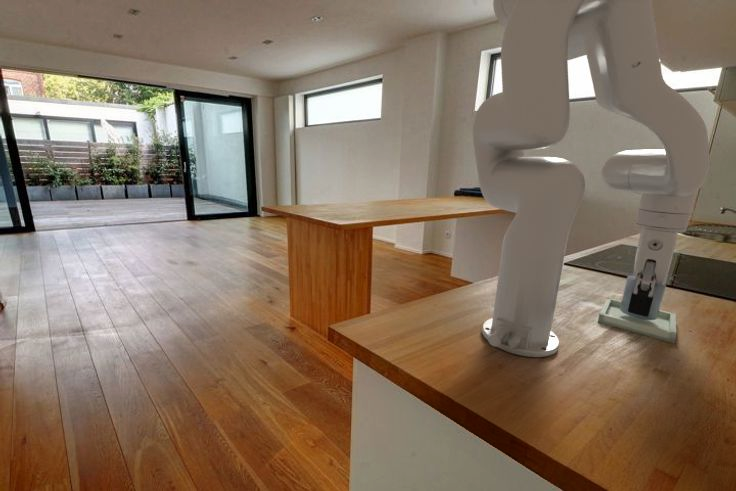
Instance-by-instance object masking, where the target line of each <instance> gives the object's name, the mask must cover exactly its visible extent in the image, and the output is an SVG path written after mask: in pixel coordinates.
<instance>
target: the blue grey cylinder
mask: <svg viewBox="0 0 736 491" xmlns="http://www.w3.org/2000/svg"><path fill="white" fill-rule="evenodd" d="M633 275H634V274H633ZM633 275H632V274H631V275H627V276H626V282H625V285H624V289H623V290H624V291H623V294H622V298H621V301H622V302H621V306H620V310H621V311H622V312H623V313H625V314H627V315H629V316H632V317H635V318H639V319H644V320H656V319H657V317H658V313H659V310H661V305H662V303H663V297H664V295H665V291H666V287H667V282H666V283H665V284H661V282H657V278H656V283H655V286H654V290H653V294H652V297H653V300H652V304H651V308H650V312H649V316H647V317H645V316H641V315H637V314H633V313H629V312H628V307H629V303H630V299H631V295H632V292H633V293H634V289H635V285H636V281H637V279H635V278H634V277H633ZM640 278H642V279H643V276H640ZM653 279H654V278H651V280H652V281H653ZM640 283H642V282H640ZM640 283H639V284H640ZM650 286H651V284H650Z"/></svg>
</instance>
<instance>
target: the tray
mask: <svg viewBox="0 0 736 491" xmlns="http://www.w3.org/2000/svg"><path fill="white" fill-rule="evenodd" d="M621 302H622V300H619V299H614V298H611V297H606V300H605V301H604V304H603V306H602V308H601V309H600V313H599V316H598V319H597V323H601V324H604V325H607V326H610V327H614V328H618V329H621V330H625V331H627V332H633V333H636V334H639V335H643V336H646V337H649V338H653V339H657V340H660V341H664V342H667V343H671V344H675V342H676V337H677V319H676V318H677V317H676V315H677V314H676V313H674V312H670V311H666V310H662V309H660V310H659V313H658V317H657V319H656V320H644V319H639V318H635V317H632V316H629V315H627V314H625V313H623V312H622V311H621V310H620V306H621Z"/></svg>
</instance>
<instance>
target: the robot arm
mask: <svg viewBox="0 0 736 491" xmlns="http://www.w3.org/2000/svg"><path fill="white" fill-rule="evenodd" d="M492 3H493V4H492V5H493V11H494V12H493V13H494V15H495V17H496V19H497V21H498V23H499V24H500V25H501V26H502V27H503V28H504V32H503V36H502V40H501V46H500V47H501V48H500V49H501V50H500V64H501V83H502V85H501V86H502V90H501V91H502V92H498V93H496V94H492V95H490V96H489V97H488V98H487V99H485V100H484V101H483V102H482V103H481V105H479V107H478V109H477V110H476V113H475V116H474V119H473V125H472V140H473V150H474V155H475V156H474V157H475V163H476V170H477V176H478V182H479V187H480V192H481V194H482V197H483V198H484V200H485V201H486V203H488V204H489V205H490V206H492V207H494V208H497V209H499V210H503V211H507V212H511V213H514V214H515V213H516V214H515V215H514V217H513V219H512V221H511V222H510V224H509V225H508V227H507V229H506V231H505V233H504V237H503V240H502V244H501V250H500V251H501V252H500V253H501V254H500V262H499V269H498V275H497V276H498V277H497V283H496V290H495V291H496V293H495V299H494V305H493V306H494V307H493V313H492V314H493V315H492V317H491V318H489V319H487V320H485V321H484V322H483V324H482V329H481V332H482V335H483V337H484V338H485V339H486V340H487V342H488V343H489V344H490V346H493V347H495V348H498V349H500V350H503V351H505V352H507V353H511V354H512V355H513V354H514V355H517V356H522V357H527V358H543V357H549V356H551V355H554V354H555V353H557V352H558V350H559V348H560V347H559V346H560V340H559V338H558V336H557V335H556V334H555V333H554V332H553V331H552V325H553V320H554V315H555V309H556V303H557V301H558V300H557V299H558V293H559V289H560V288H559V287H560V282H561V277H562V271H563V266H564V260H565V254H566V249H567V244H568V240H569V235H570V231H571V228H572V226H573V222H574V219H575V217H576V215H577V212H578V210H579V208H580V205H581V203H582V200H583V198H584V196H585V195H584V194H585V191H586V190H585V189H586V179H585V175H584V174H583V172H582V170H581V168H579V167H578V165H577V164H575V163H573V162H572V161H570V160H567V159H565V158H560V157H552V156H525V154H524V151H533V150H535V151H536V150H542V149H543V150H544V149H547V148H548V149H549V148H550V147H553V146H555V145H557V144H558V143H560V142H561V141H562V140H563V139H564V138H565V136H566V135H567V133H568V130H569V127H570V119H571V118H570V116H571V115H570V113H571V111H570V110H571V108H570V88H569V87H570V86H569V85H570V83H569V66H568V64H569V62H568V61H570V60H573V59H577V58H580V57H584V56H586V58H587V62H588V68H589V72H590V77H591V81H592V85H593V91H594V96H595V101H596V103H597V105H598V106H599V107H600V108H602V109H604V110H606V111H609V112H612V113H614V114H617V115H620V116H621V117H625V118H626V119H630V120H632V121H634V122H637V123H640V124H641V125H643V126H645V127H646V128H648V130H650V131H652V132H653V133H654V135H655V136H657V138H658V139H659V141H660V143H661V144H662V147H663V149H662V148H661V149H659V148H657V149H654V148H653V149H652V148H651V149H632V150H631V149H630V150H627V149H626V150H623V151H620V152H617V153H615V154H613V155H611V156H610V157H609V158H608V159H607V160H606V161H605V162H604V164H603V167H602V169H601V179H602V181H603V183H604V184H605V185H606V186H607V187H608V188H610V189H612V190H614V191H617V192H622V193H629V194H630V193H631V194H638V195H639V194H641V195H640V199H639V205H638V209H637V213H636V217H635V220H634V221H635V222H634V226H635V227H637V228H641V230H640V234H639V238H638V244H637V248H636V251H635V252H636V253H635V257H634V268H633V277H634V278H635V279H637V281H636V285H635V289H634V293H633V292H632V295H631V299H630V303H629V307H628V312H629V313H633V314H637V315H641V316H645V317H647V316H649V312H650V308H651V304H652V300H653V297H652V294H653V290H654V286H655V283H656V279H657V282H661V284H665V283H666V284H667V280H668V277H669V276H668V275H669V271H670V267H671V264H672V261H673V257H674V256H673V255H674V253H675V249H676V245H677V239H678V233H685V232H687V229H688V225H689V222H690V218H691V213H692V211H693V206H694V203H695V199H696V196H697V194H698V193H697V192H698V190H699V189H701V188H702V186H703V185H704V184H705V182H706V180H707V178H708V174H709V171H710V158H711V157H710V146H709V137H708V136H709V135H708V130H707V125H706V124H705V123H706V122H705V121H704V119H703V117H702V116H701V114H700V113H699V112H698V111H697V110H696V108H695V107H694V106H693V105H692V104H691V103H690V102H689V101H688V100H687V98H686V97H684V96H683V95H682V94H680V93H679V92H678V91H676V90H675V89H674V88H672V87H671V86H669V85H668V84H667V83H666V81H665V79H664V77H663V73H662V65H661V64H662V63H661V58H660V50H659V43H658V35H657V27H656V20H655V13H654V6H653V0H493V2H492ZM640 276H643V279H642V278H640ZM651 278H654V279H653V281H652V280H651ZM640 282H642V283H640ZM639 283H640V284H639ZM650 284H651V286H650Z"/></svg>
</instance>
